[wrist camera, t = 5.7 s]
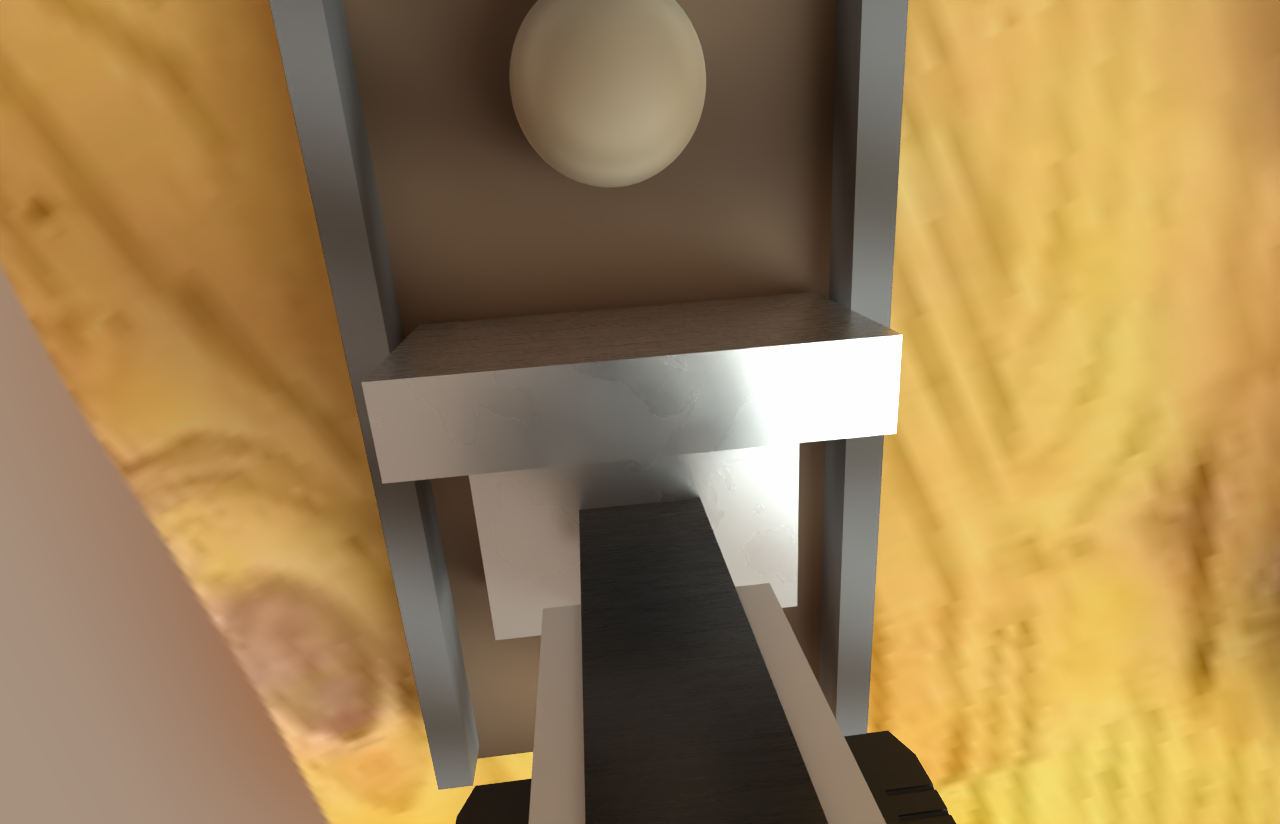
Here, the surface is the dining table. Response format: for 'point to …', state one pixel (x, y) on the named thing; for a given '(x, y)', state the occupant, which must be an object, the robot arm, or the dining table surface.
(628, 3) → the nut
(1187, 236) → the dining table surface
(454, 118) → the base
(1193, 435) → the dining table surface
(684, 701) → the carriage
